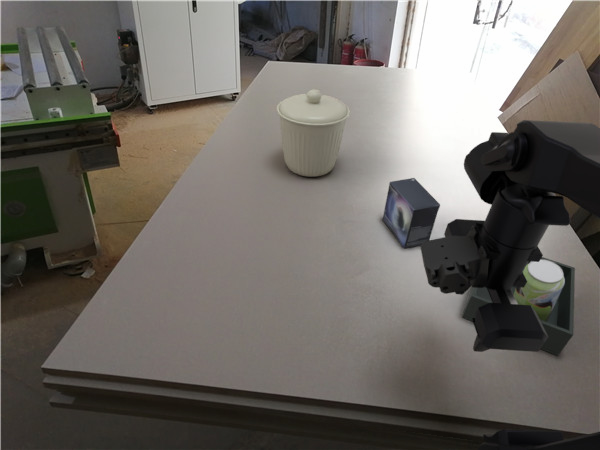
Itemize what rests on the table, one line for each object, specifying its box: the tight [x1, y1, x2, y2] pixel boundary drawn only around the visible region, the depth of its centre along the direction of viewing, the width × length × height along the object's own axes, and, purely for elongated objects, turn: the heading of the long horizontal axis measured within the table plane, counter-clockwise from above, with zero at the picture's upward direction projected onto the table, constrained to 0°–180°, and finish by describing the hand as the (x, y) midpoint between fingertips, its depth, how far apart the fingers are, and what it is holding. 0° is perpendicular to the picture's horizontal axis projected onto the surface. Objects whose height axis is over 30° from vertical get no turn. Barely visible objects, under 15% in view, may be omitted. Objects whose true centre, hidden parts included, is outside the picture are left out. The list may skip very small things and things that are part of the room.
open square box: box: [461, 256, 576, 357], centre depth 72 cm, size 17×15×6 cm
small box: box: [382, 177, 441, 249], centre depth 86 cm, size 11×6×10 cm, turn 17°
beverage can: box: [514, 259, 565, 322], centre depth 67 cm, size 6×7×12 cm
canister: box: [276, 89, 351, 178], centre depth 103 cm, size 18×18×21 cm
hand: (467, 320), depth 54 cm, fingers open, 9 cm apart
